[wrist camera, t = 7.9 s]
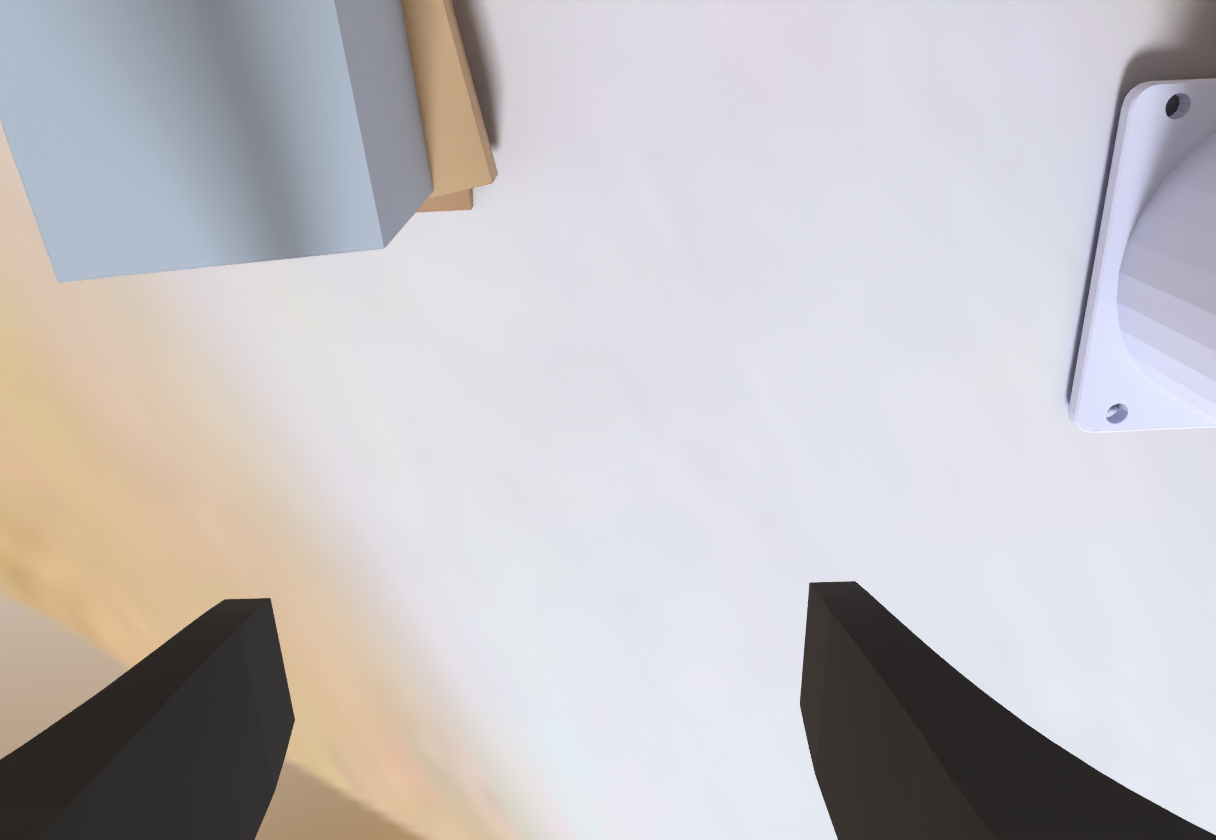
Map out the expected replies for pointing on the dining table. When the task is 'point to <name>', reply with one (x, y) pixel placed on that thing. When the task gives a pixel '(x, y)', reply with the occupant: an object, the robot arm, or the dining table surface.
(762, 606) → the dining table surface
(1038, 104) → the dining table surface
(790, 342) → the dining table surface
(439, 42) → the slab top
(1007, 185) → the dining table surface
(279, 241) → the cube
